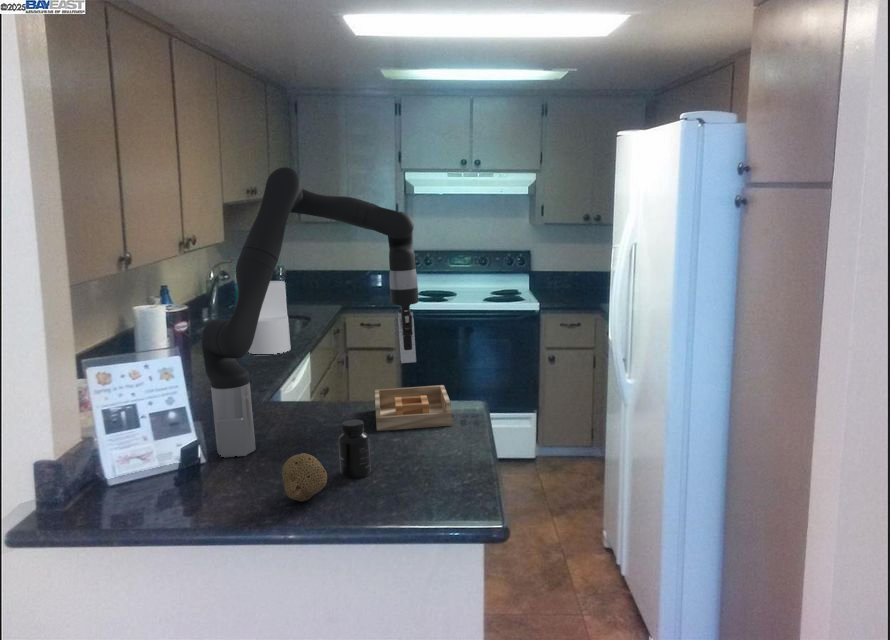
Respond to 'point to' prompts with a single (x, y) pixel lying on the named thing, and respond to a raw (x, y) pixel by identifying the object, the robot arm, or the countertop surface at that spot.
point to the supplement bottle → (354, 450)
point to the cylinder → (272, 322)
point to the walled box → (412, 408)
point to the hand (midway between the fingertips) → (407, 347)
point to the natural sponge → (303, 477)
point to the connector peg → (406, 355)
